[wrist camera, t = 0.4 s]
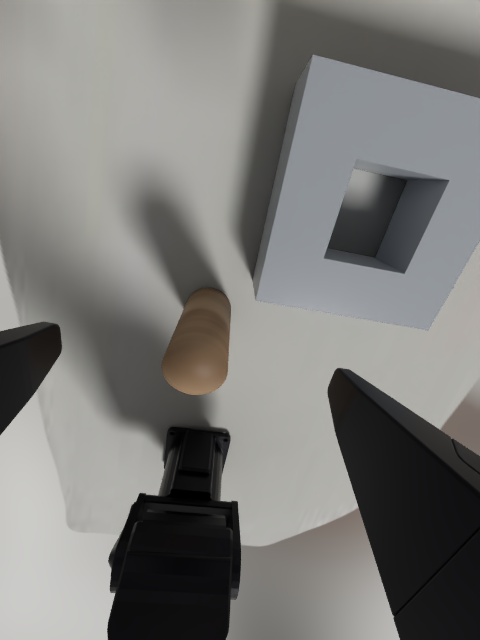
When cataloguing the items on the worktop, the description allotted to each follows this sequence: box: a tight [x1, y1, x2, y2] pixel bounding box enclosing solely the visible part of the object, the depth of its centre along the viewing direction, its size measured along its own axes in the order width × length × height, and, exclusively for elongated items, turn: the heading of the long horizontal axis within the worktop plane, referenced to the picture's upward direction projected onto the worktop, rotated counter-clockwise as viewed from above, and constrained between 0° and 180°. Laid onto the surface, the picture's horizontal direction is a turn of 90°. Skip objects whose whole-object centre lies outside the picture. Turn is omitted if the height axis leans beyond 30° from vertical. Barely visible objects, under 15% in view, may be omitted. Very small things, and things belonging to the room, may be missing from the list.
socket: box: [253, 55, 480, 330], centre depth 17 cm, size 12×12×4 cm
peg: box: [162, 288, 231, 395], centre depth 18 cm, size 4×4×8 cm
